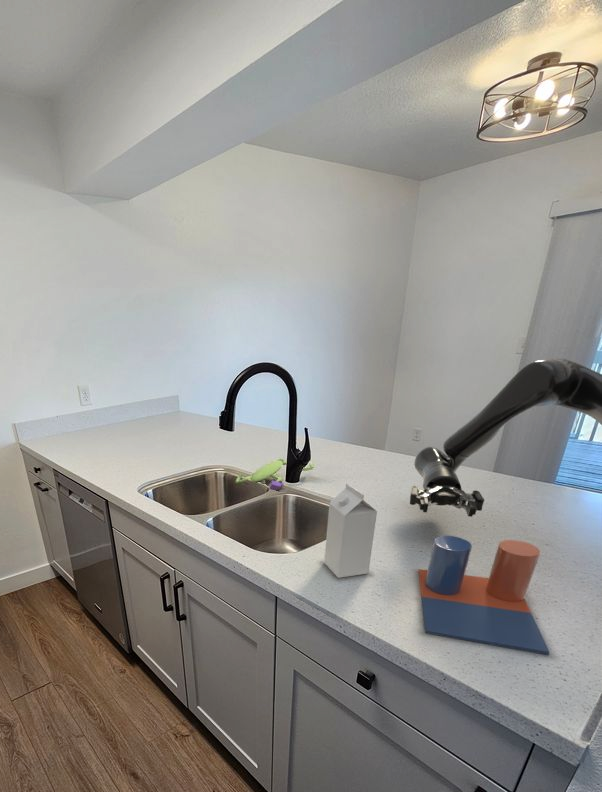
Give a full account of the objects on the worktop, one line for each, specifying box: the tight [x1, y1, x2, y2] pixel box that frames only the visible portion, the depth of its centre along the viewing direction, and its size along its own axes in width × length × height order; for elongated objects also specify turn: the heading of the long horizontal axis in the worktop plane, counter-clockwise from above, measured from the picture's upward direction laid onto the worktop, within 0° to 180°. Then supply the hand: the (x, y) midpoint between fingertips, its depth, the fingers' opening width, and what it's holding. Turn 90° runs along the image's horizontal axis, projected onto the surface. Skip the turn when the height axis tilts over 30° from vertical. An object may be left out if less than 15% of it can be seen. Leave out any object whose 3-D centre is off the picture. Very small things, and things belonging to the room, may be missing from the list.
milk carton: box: [323, 483, 378, 579], centre depth 93 cm, size 7×7×19 cm
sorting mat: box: [418, 568, 550, 655], centre depth 82 cm, size 18×22×1 cm
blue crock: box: [425, 535, 473, 595], centre depth 86 cm, size 6×6×10 cm
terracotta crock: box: [486, 539, 541, 602], centre depth 83 cm, size 6×6×10 cm
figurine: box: [235, 458, 315, 491], centre depth 152 cm, size 18×27×6 cm
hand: (448, 510), depth 92 cm, fingers open, 8 cm apart
